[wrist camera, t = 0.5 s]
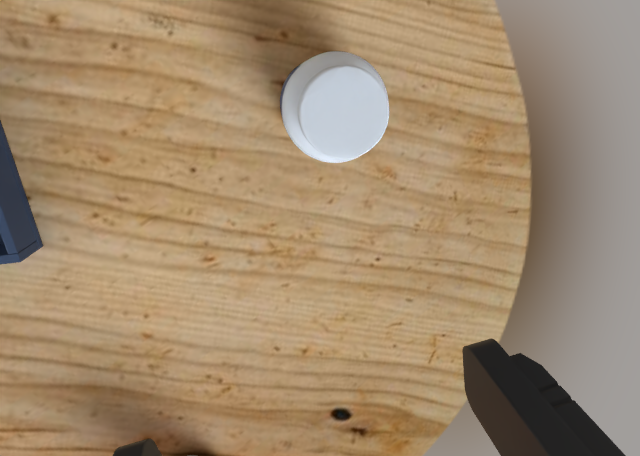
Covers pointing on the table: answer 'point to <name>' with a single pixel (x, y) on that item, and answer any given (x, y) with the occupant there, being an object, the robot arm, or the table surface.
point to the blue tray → (14, 212)
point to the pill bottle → (334, 106)
